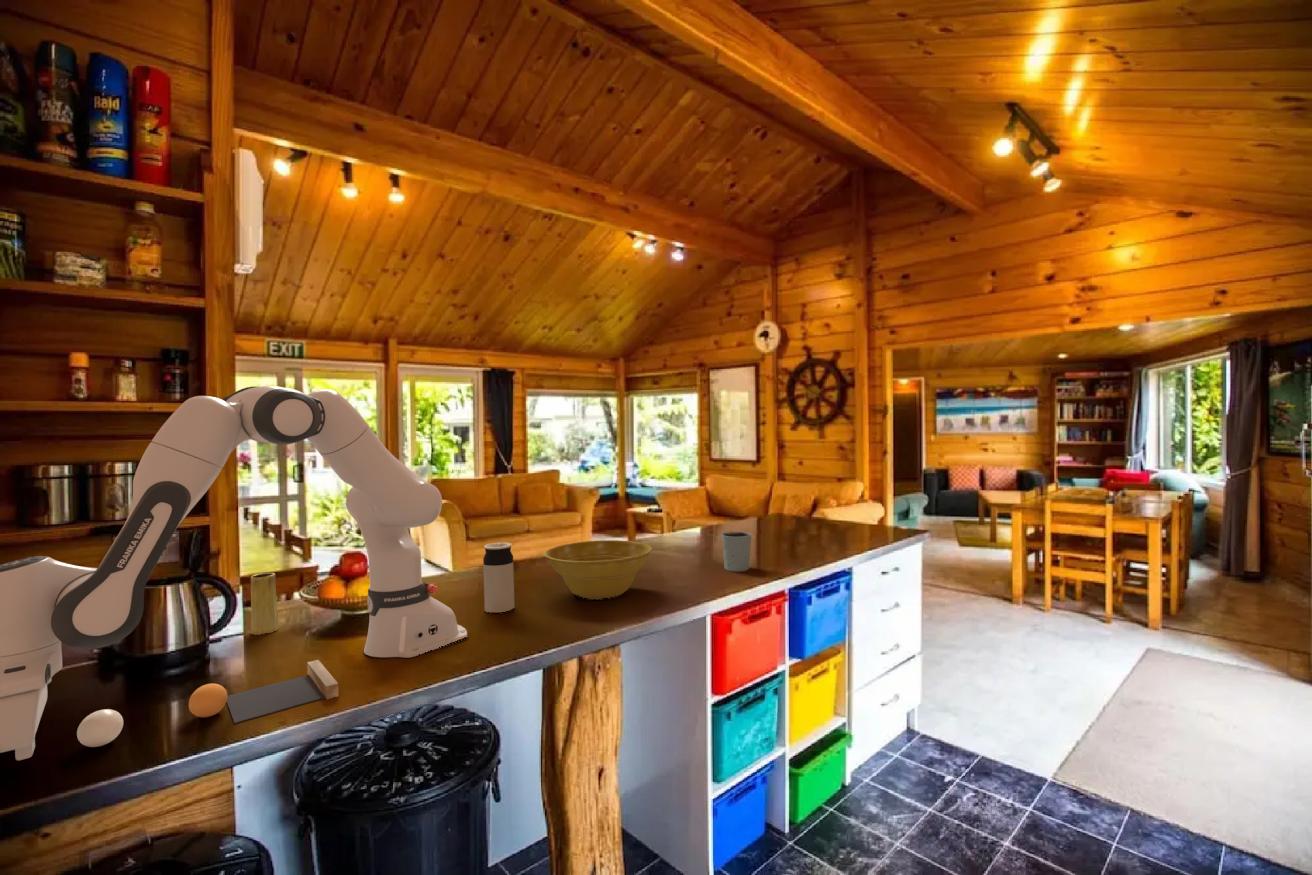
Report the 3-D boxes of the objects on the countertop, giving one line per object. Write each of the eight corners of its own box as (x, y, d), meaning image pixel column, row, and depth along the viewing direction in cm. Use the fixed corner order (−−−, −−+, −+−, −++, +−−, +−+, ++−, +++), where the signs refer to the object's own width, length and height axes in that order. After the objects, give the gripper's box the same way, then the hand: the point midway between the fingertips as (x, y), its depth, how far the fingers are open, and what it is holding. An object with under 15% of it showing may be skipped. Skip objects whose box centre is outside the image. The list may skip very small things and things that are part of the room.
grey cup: (719, 571, 203) (718, 536, 202) (725, 564, 212) (725, 530, 212) (749, 572, 199) (748, 537, 199) (754, 565, 209) (753, 531, 209)
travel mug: (499, 616, 159) (497, 548, 158) (478, 611, 163) (476, 546, 163) (520, 607, 166) (518, 543, 165) (500, 604, 170) (498, 541, 169)
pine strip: (318, 671, 124) (318, 659, 124) (338, 696, 112) (338, 683, 112) (307, 674, 123) (307, 662, 123) (326, 699, 111) (326, 686, 111)
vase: (269, 634, 148) (267, 577, 148) (244, 635, 148) (242, 578, 147) (284, 626, 154) (282, 571, 154) (260, 627, 154) (258, 572, 154)
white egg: (124, 732, 100) (122, 700, 100) (123, 744, 96) (122, 711, 96) (78, 744, 97) (77, 710, 96) (76, 757, 92) (75, 722, 92)
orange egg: (226, 705, 109) (225, 675, 109) (229, 715, 105) (228, 684, 105) (188, 715, 106) (187, 684, 106) (190, 726, 102) (189, 694, 102)
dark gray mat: (308, 675, 122) (308, 674, 122) (325, 697, 112) (325, 696, 112) (225, 697, 113) (225, 696, 113) (234, 723, 102) (234, 722, 102)
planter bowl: (545, 583, 191) (544, 542, 191) (644, 577, 197) (643, 536, 197) (545, 614, 159) (543, 564, 159) (662, 605, 165) (661, 557, 165)
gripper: (2, 652, 96) (6, 736, 97) (-24, 693, 81) (-18, 793, 81) (57, 642, 100) (61, 723, 101) (43, 679, 85) (47, 774, 85)
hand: (25, 755), depth 91 cm, fingers closed
